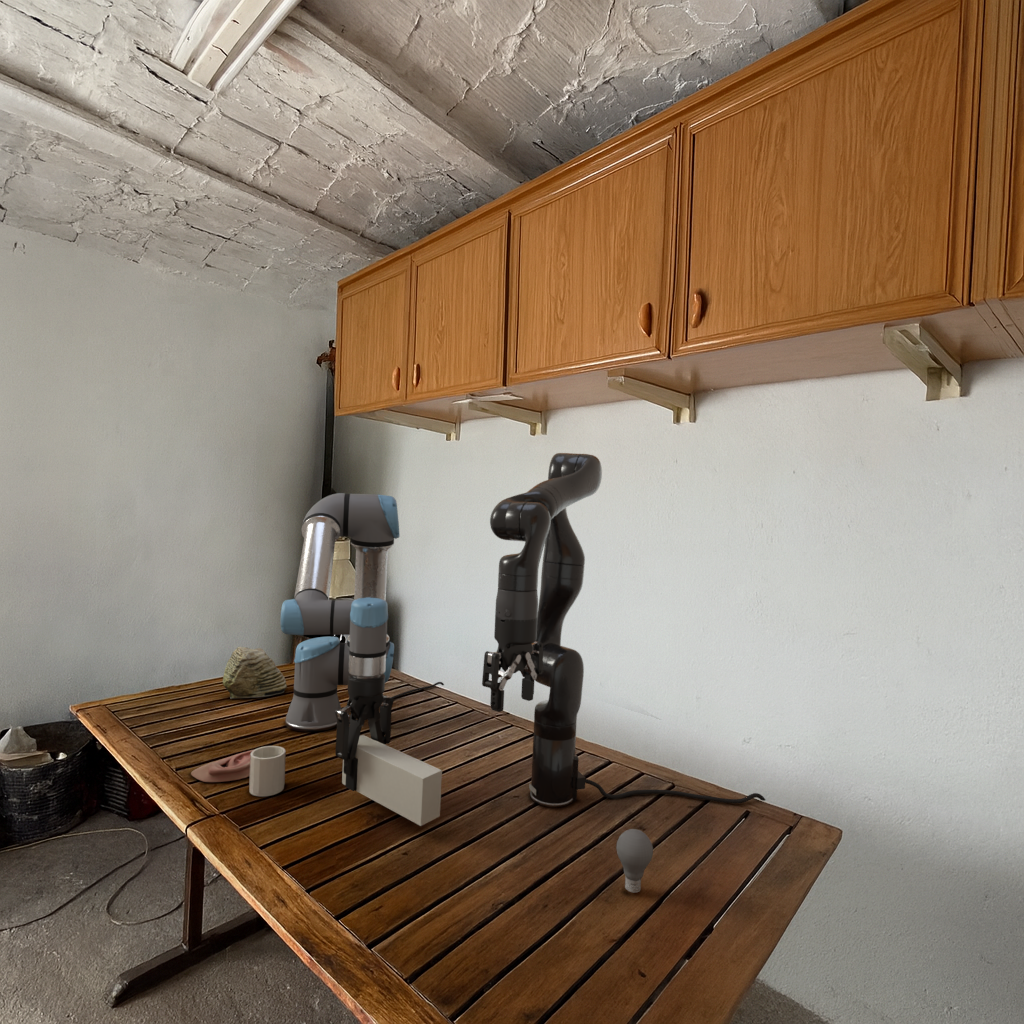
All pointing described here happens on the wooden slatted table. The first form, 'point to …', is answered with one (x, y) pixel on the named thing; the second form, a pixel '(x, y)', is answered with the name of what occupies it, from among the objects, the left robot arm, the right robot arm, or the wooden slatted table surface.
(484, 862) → the wooden slatted table surface
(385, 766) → the grey bar
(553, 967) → the wooden slatted table surface
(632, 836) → the light bulb
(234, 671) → the fossil
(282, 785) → the white cup
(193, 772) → the anatomical model
